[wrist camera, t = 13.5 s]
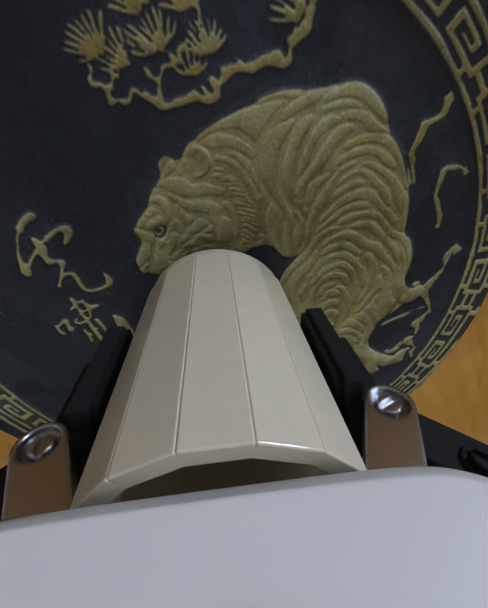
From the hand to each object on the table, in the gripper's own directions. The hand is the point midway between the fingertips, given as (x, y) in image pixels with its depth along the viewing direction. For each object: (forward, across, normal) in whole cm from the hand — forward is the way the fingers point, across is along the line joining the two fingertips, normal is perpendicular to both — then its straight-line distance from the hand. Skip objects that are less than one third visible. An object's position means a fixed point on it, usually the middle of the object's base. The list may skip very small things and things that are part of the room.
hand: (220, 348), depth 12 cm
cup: (+3, 0, 0) cm, 3 cm away
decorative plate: (+5, 0, 0) cm, 5 cm away
